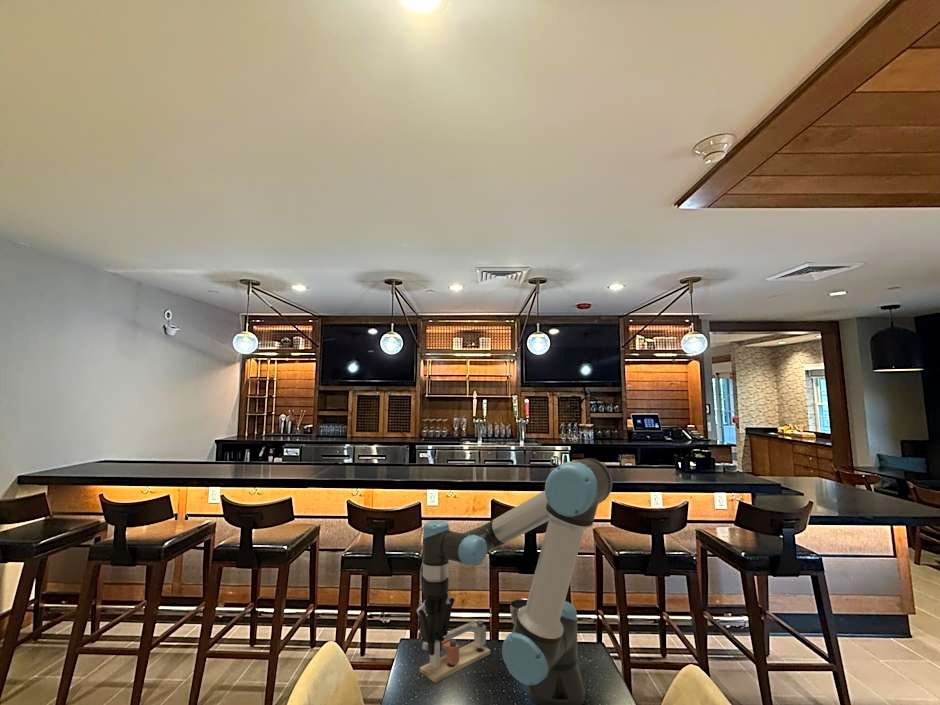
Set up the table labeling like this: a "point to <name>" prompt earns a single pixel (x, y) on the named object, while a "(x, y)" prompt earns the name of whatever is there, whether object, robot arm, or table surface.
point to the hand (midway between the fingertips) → (434, 665)
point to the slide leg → (451, 651)
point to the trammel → (471, 626)
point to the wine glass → (517, 607)
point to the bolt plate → (466, 658)
